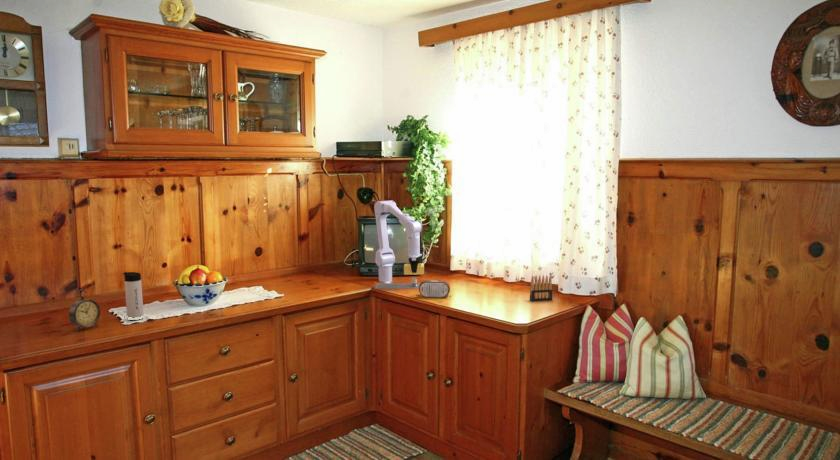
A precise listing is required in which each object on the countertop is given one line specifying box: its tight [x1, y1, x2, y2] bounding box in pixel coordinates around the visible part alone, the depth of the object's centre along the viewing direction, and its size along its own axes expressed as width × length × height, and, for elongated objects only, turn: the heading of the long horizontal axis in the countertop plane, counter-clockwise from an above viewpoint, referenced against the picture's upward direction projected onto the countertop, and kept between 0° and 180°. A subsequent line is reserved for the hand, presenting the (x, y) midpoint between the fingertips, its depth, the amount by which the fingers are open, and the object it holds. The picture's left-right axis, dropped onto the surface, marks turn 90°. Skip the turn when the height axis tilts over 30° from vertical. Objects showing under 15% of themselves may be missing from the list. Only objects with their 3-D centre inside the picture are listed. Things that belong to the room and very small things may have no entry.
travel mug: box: [122, 271, 144, 318], centre depth 245 cm, size 6×7×20 cm
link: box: [403, 263, 425, 276], centre depth 302 cm, size 10×10×4 cm
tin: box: [418, 279, 451, 299], centre depth 282 cm, size 15×3×8 cm, turn 84°
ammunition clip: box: [529, 274, 553, 302], centre depth 275 cm, size 11×2×12 cm, turn 101°
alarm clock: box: [68, 288, 101, 332], centre depth 232 cm, size 11×5×16 cm, turn 155°
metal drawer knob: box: [411, 276, 418, 287], centre depth 303 cm, size 4×4×4 cm
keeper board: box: [374, 282, 421, 290], centre depth 303 cm, size 13×26×1 cm, turn 89°
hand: (414, 272), depth 298 cm, fingers closed on link
